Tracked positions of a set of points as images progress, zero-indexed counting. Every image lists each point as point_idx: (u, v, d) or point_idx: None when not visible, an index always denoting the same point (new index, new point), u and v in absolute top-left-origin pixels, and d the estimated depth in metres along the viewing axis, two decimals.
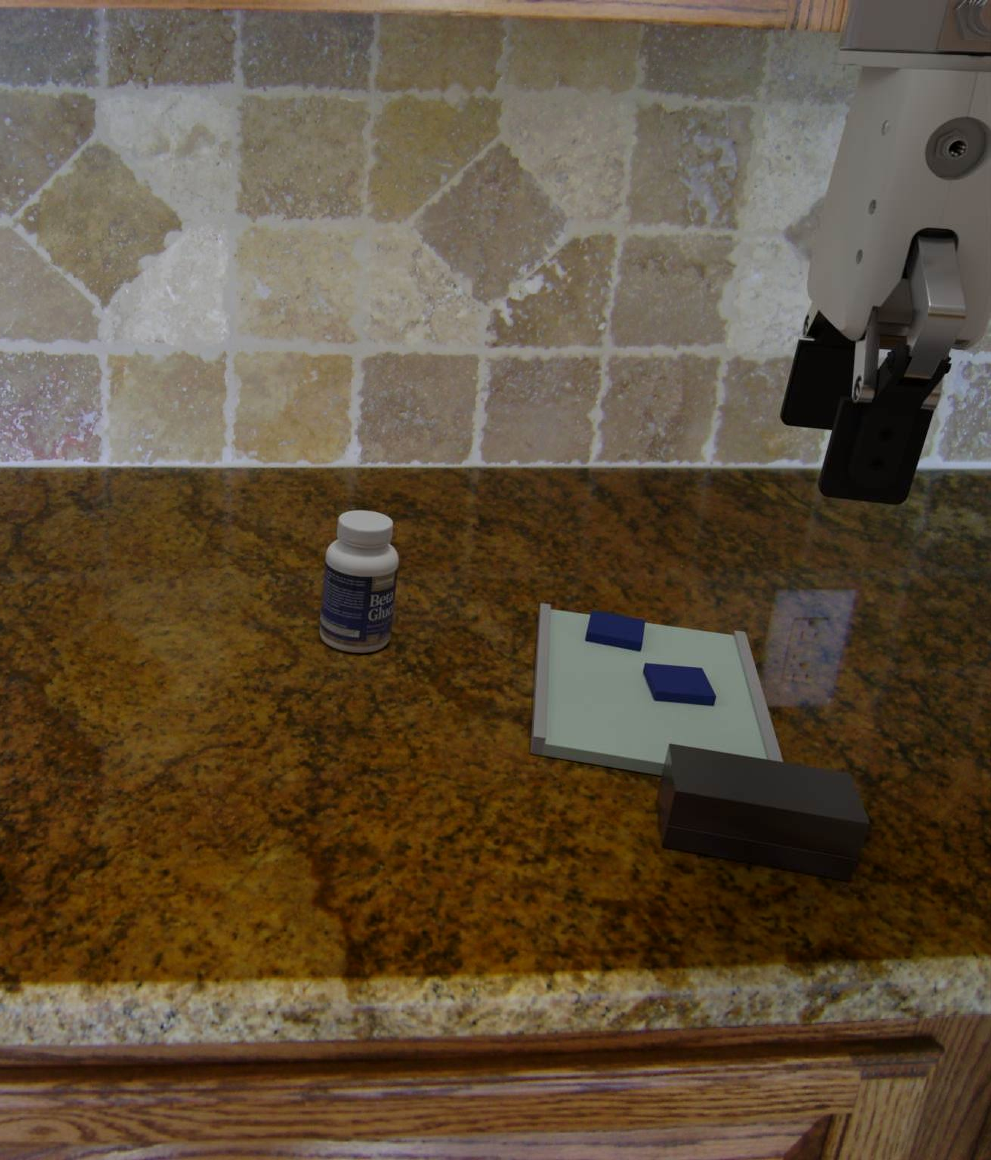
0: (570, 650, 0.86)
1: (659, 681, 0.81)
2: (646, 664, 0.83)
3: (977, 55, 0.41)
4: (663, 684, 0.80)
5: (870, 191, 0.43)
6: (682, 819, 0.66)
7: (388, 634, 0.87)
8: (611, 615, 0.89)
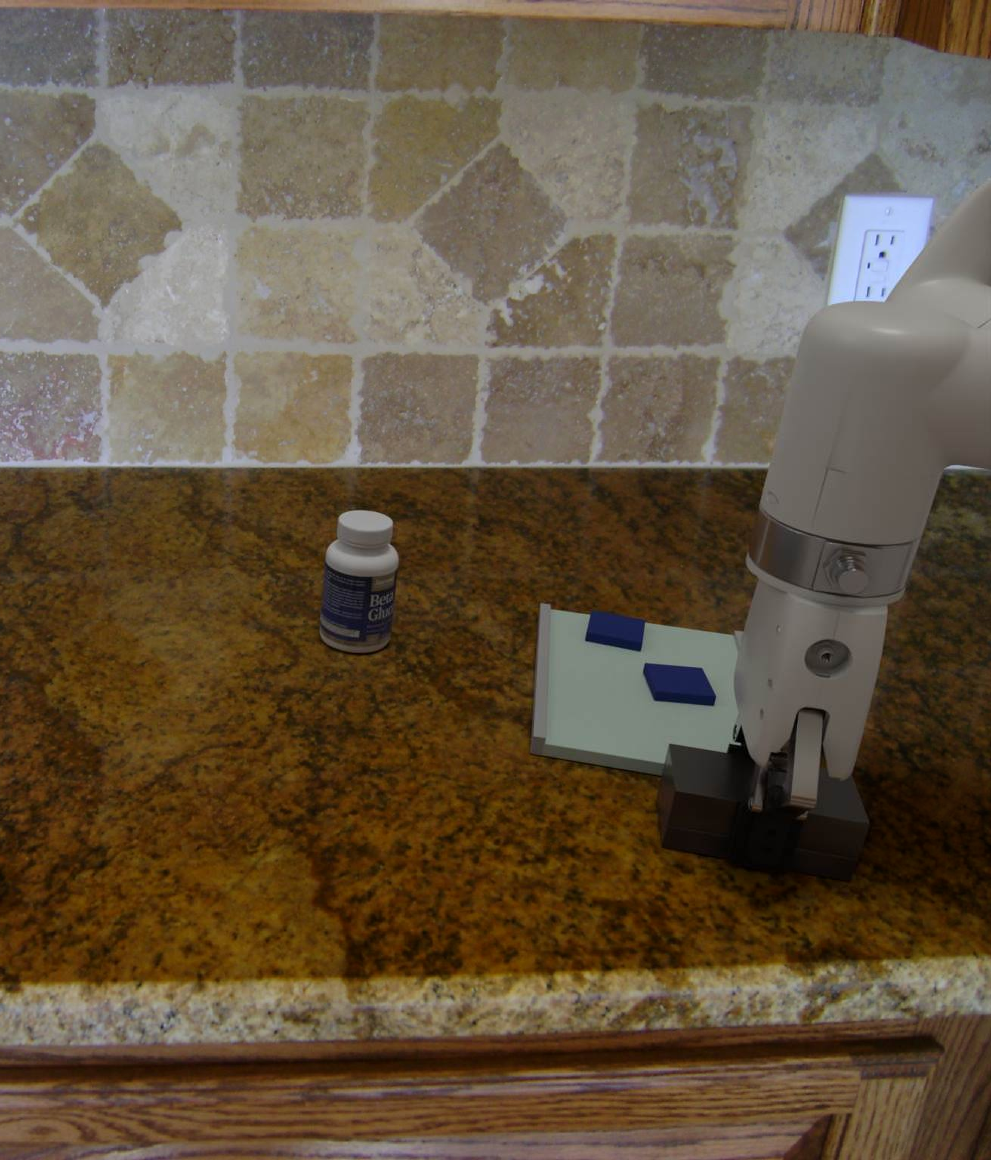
0: (570, 650, 0.86)
1: (659, 681, 0.81)
2: (646, 664, 0.83)
3: (840, 594, 0.57)
4: (663, 684, 0.80)
5: (768, 670, 0.60)
6: (682, 819, 0.66)
7: (388, 634, 0.87)
8: (611, 615, 0.89)
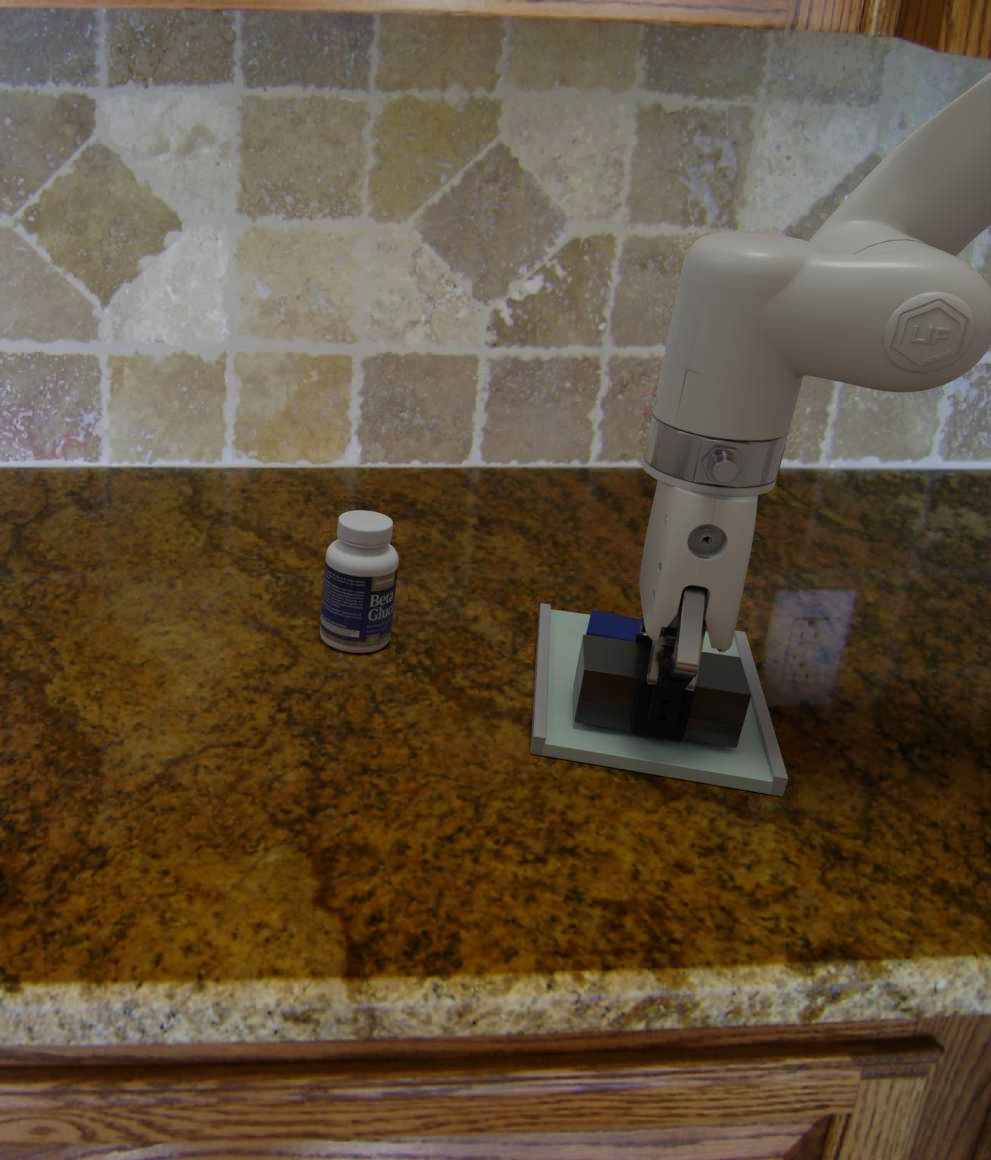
0: (570, 650, 0.86)
1: None
2: None
3: (717, 485, 0.66)
4: None
5: (659, 555, 0.69)
6: (591, 696, 0.75)
7: (388, 634, 0.87)
8: (611, 615, 0.89)
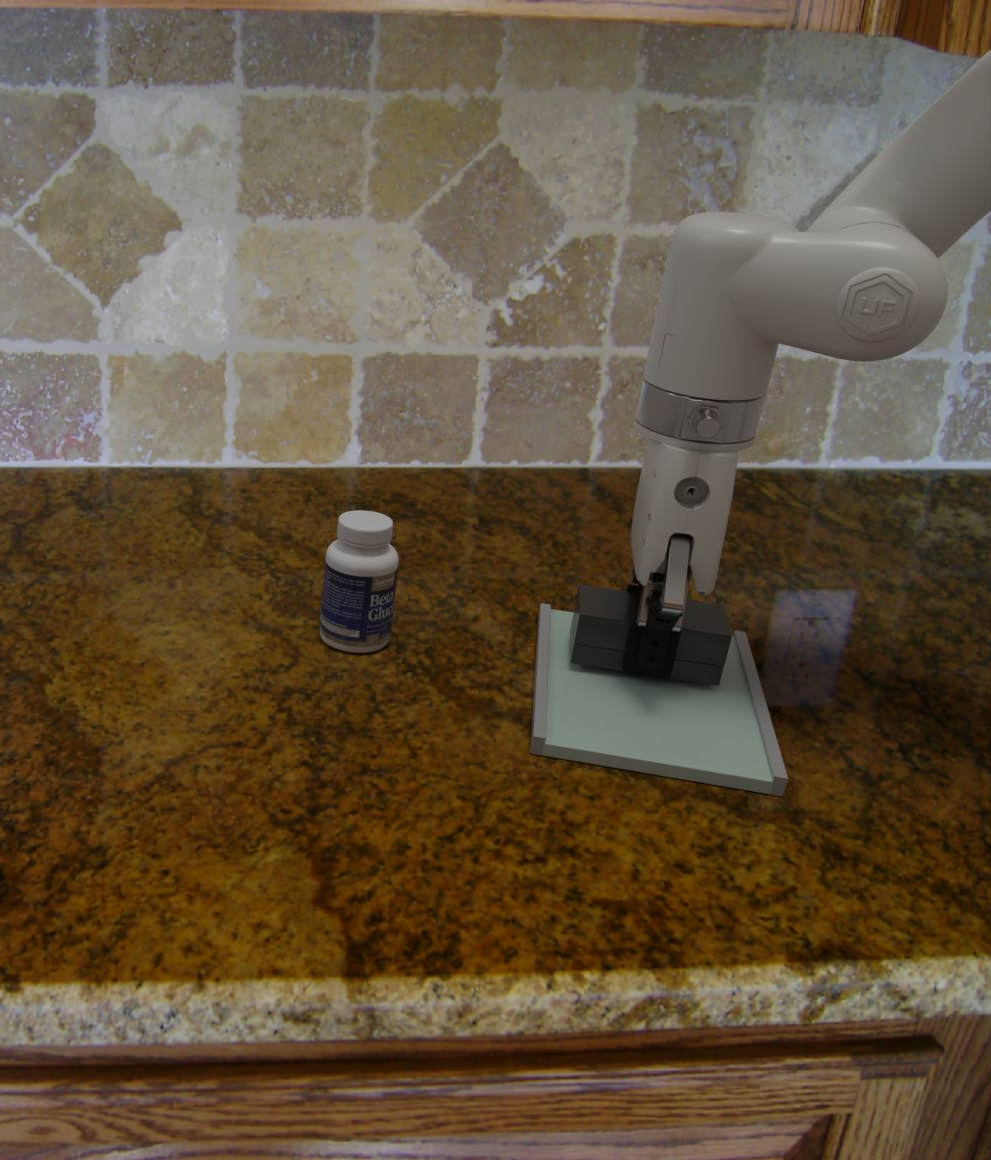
0: None
1: None
2: None
3: (701, 441, 0.73)
4: None
5: (648, 506, 0.76)
6: (586, 638, 0.82)
7: (388, 634, 0.87)
8: None
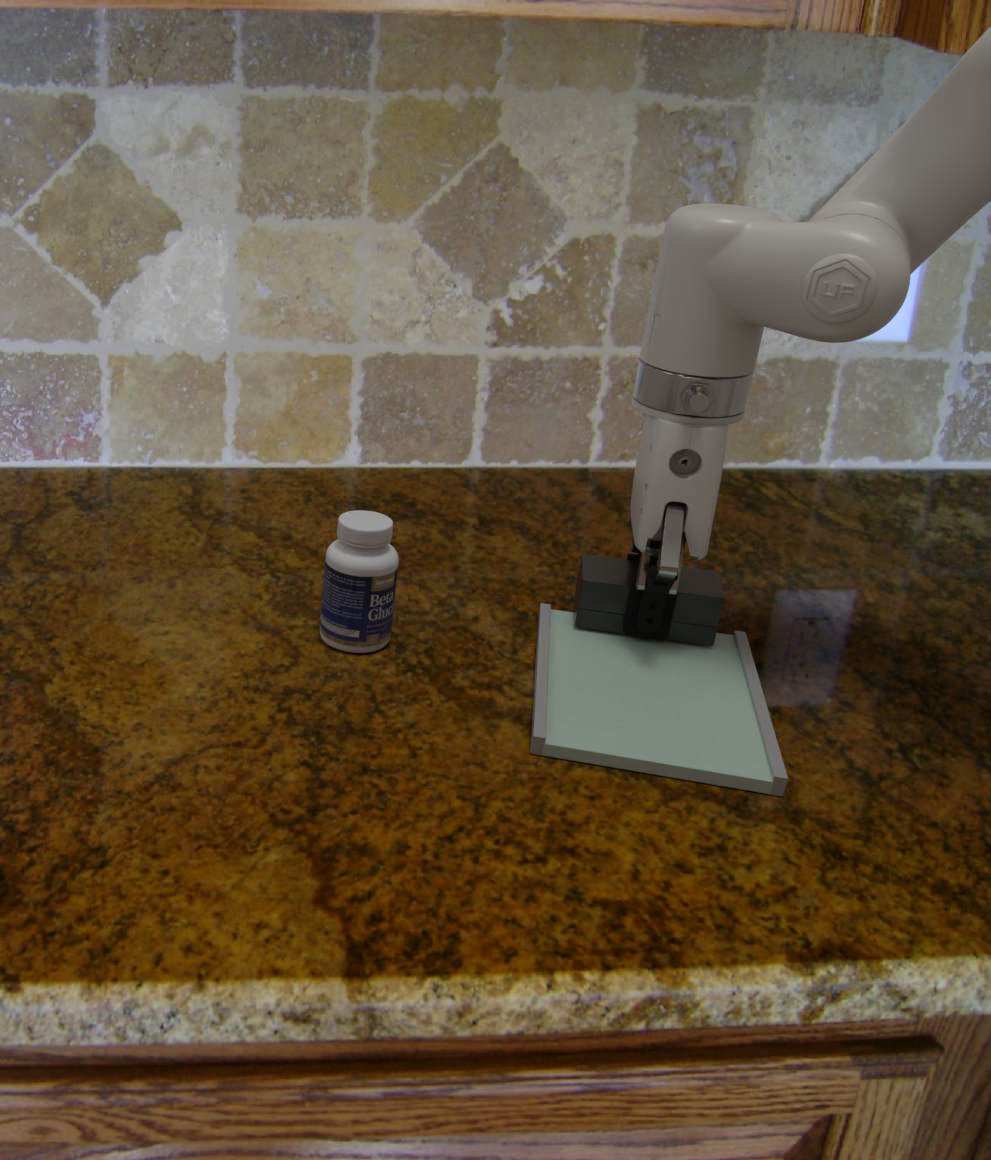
0: (570, 650, 0.86)
1: None
2: None
3: (694, 416, 0.79)
4: None
5: (645, 477, 0.82)
6: (588, 603, 0.88)
7: (388, 634, 0.87)
8: None
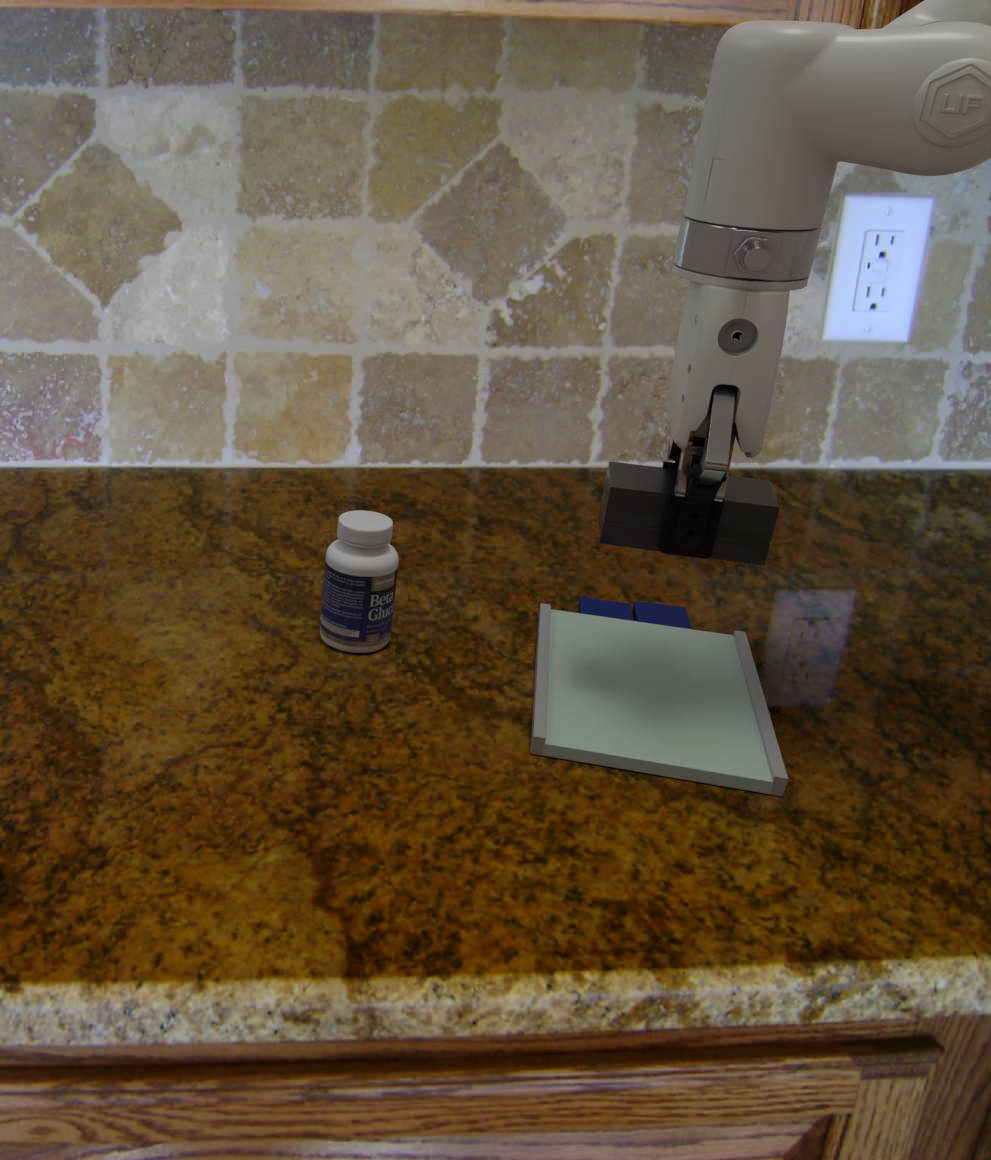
0: (570, 650, 0.86)
1: (643, 615, 0.92)
2: (635, 602, 0.94)
3: (748, 280, 0.66)
4: (646, 617, 0.92)
5: (688, 357, 0.68)
6: (617, 514, 0.74)
7: (388, 634, 0.87)
8: (599, 601, 0.95)
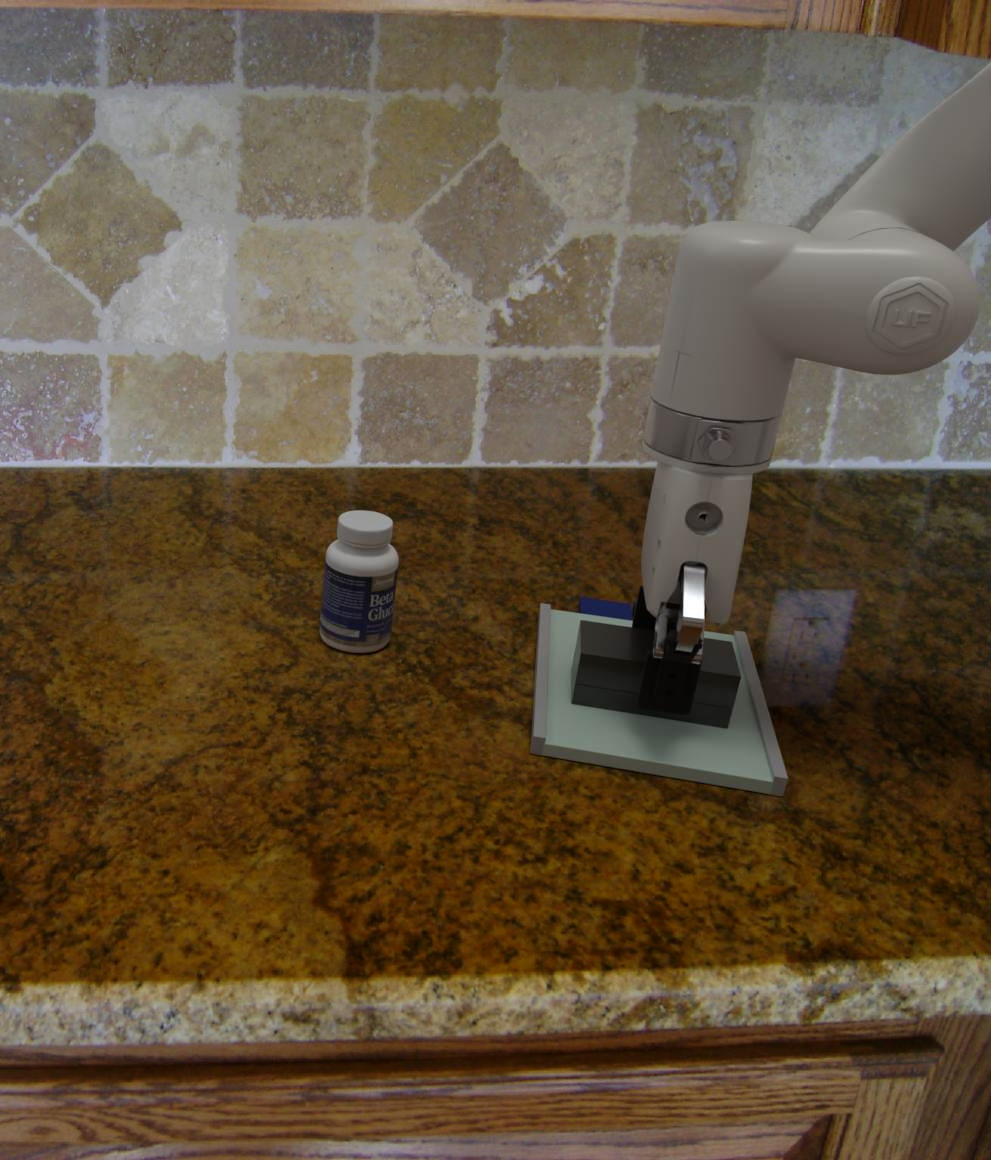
0: (570, 650, 0.86)
1: None
2: (635, 602, 0.94)
3: (713, 464, 0.69)
4: None
5: (658, 533, 0.71)
6: (587, 678, 0.78)
7: (388, 634, 0.87)
8: (599, 601, 0.95)
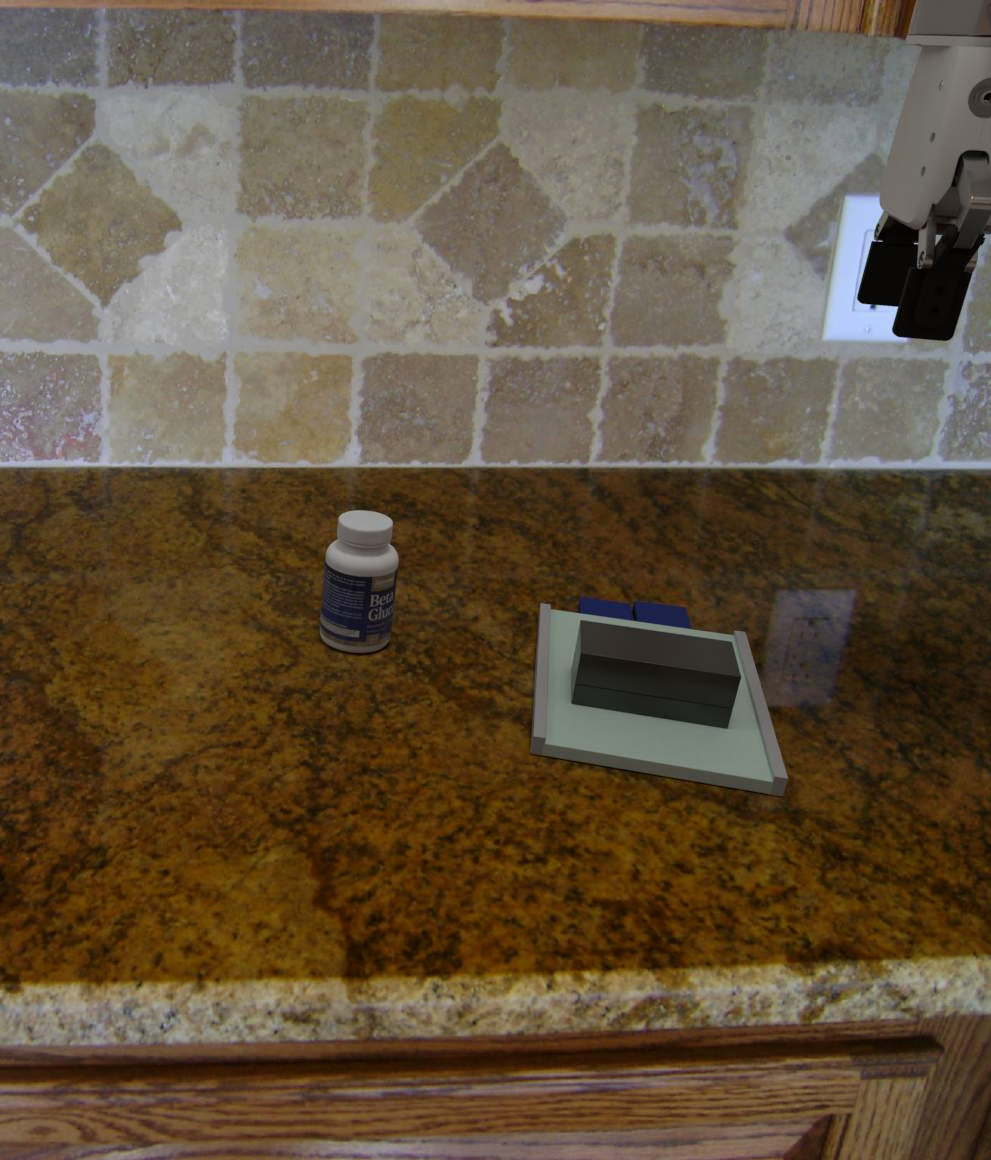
0: (570, 650, 0.86)
1: (643, 615, 0.92)
2: (635, 602, 0.94)
3: None
4: (646, 617, 0.92)
5: (930, 127, 0.66)
6: (587, 678, 0.78)
7: (388, 634, 0.87)
8: (599, 601, 0.95)
